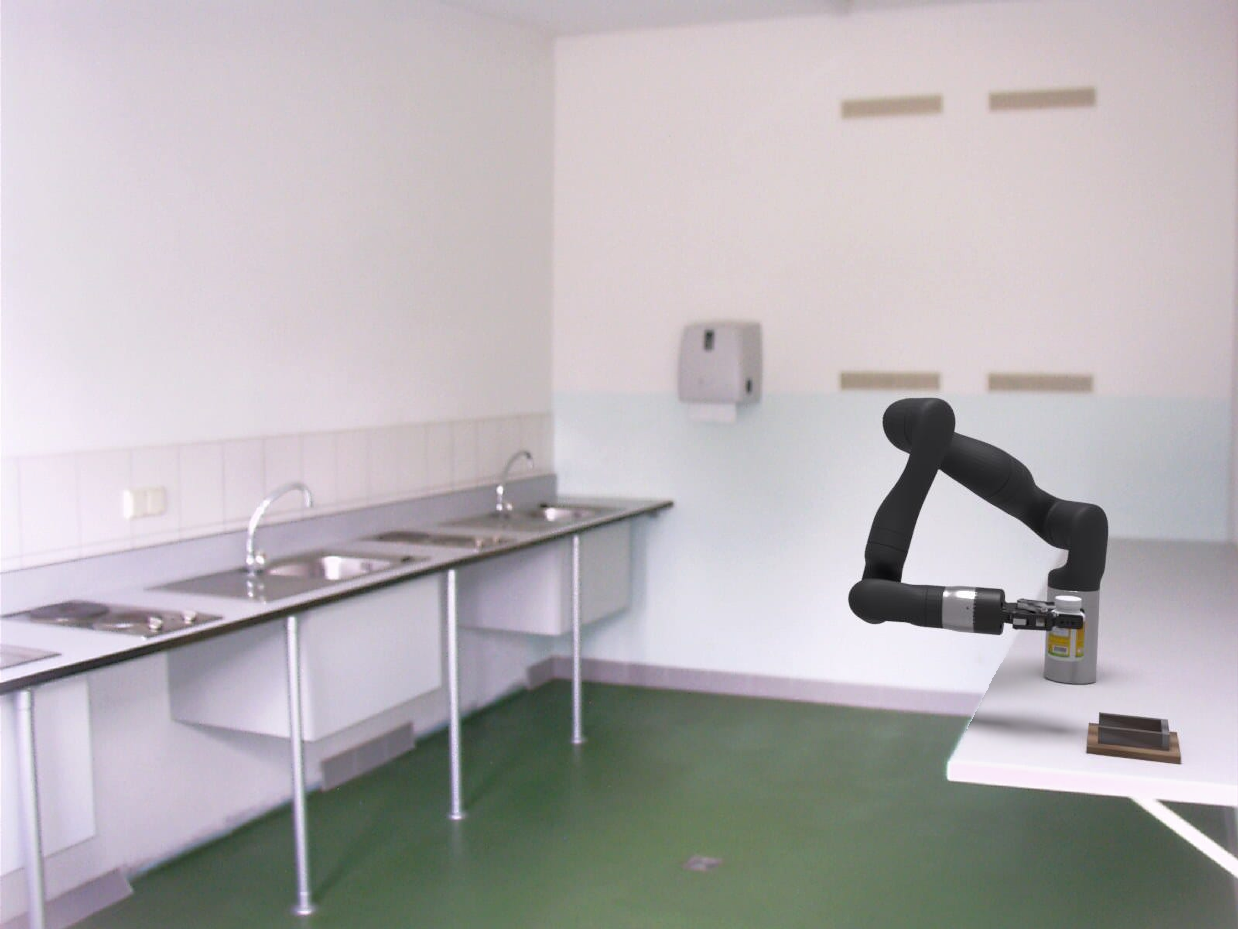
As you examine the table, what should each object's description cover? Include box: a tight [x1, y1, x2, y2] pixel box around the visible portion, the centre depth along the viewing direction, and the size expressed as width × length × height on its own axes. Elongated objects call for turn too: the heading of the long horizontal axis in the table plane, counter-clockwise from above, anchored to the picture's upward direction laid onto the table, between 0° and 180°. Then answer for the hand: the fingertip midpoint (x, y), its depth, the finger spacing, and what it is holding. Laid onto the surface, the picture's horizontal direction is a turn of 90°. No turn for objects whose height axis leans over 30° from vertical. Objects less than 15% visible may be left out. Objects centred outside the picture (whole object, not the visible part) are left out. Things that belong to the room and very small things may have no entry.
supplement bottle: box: [1048, 596, 1085, 662], centre depth 201 cm, size 5×5×10 cm
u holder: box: [1086, 711, 1182, 765], centre depth 194 cm, size 14×13×4 cm
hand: (1083, 618), depth 200 cm, fingers closed on supplement bottle, 5 cm apart
